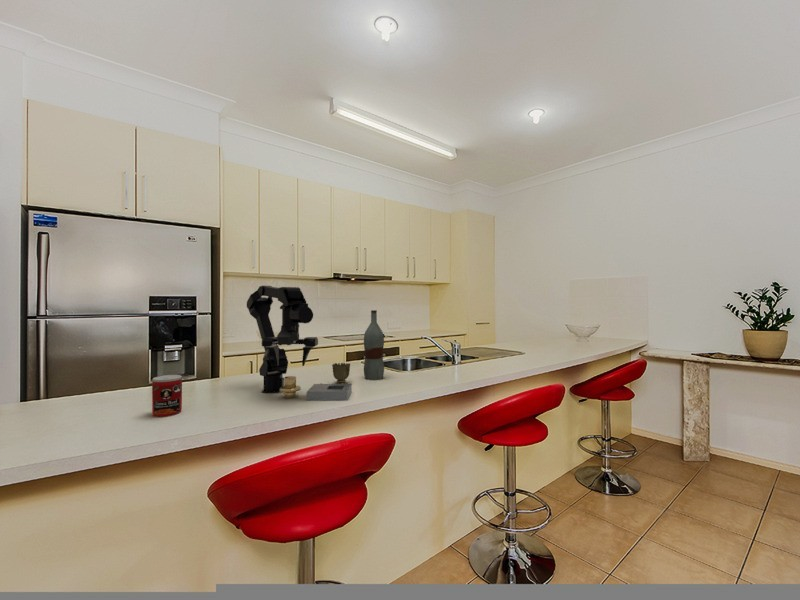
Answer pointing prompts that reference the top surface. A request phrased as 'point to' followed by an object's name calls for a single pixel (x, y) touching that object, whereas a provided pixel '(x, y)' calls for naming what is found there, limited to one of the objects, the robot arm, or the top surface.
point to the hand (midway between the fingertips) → (290, 365)
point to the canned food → (166, 395)
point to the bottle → (373, 350)
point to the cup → (341, 372)
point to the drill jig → (329, 392)
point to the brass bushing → (290, 387)
